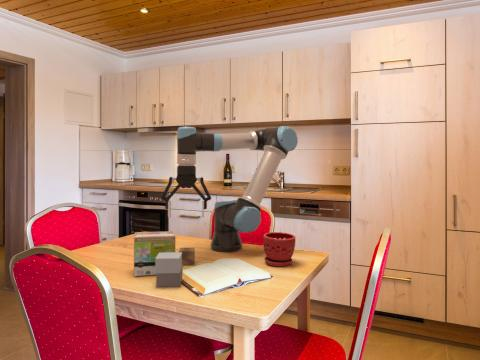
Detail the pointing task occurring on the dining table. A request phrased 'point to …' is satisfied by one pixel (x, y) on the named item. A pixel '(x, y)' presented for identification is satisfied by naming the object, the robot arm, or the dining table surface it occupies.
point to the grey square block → (168, 262)
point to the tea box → (150, 250)
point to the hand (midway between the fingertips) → (186, 217)
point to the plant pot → (279, 248)
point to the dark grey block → (169, 279)
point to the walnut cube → (188, 256)
